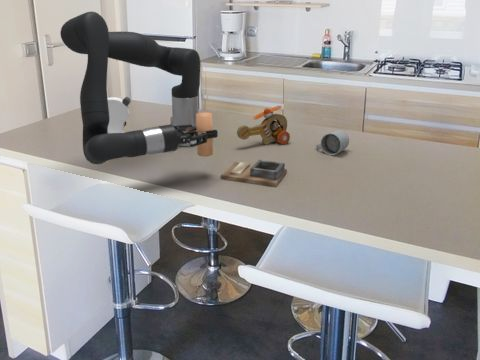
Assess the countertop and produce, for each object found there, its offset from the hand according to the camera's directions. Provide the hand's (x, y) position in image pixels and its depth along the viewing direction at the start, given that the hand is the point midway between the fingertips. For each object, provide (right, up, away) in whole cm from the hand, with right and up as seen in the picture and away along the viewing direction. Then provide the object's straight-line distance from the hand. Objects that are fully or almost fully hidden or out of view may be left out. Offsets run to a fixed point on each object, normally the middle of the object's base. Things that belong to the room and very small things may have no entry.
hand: (212, 131), depth 143 cm
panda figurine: (-38, +1, +38) cm, 54 cm away
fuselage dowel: (-2, -7, +1) cm, 7 cm away
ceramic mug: (+40, -5, +26) cm, 48 cm away
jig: (+12, -13, +4) cm, 18 cm away
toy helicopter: (+17, -2, +33) cm, 37 cm away
